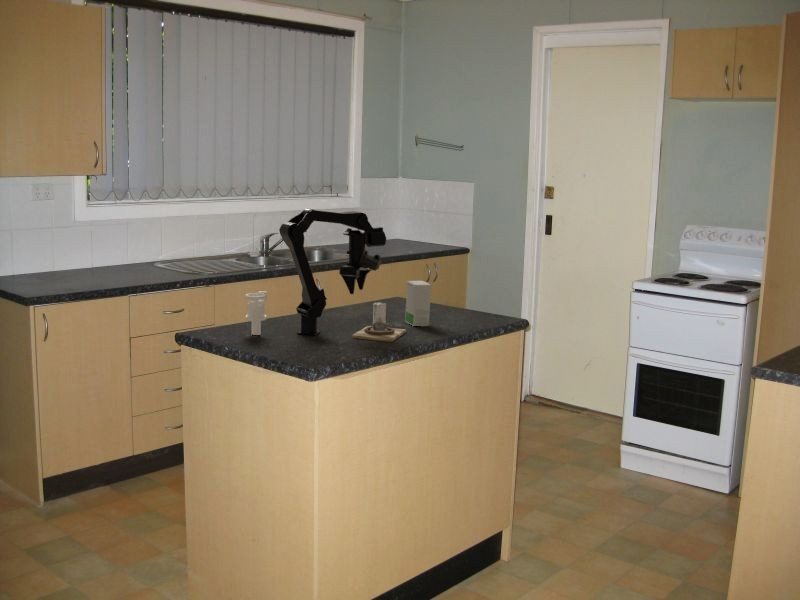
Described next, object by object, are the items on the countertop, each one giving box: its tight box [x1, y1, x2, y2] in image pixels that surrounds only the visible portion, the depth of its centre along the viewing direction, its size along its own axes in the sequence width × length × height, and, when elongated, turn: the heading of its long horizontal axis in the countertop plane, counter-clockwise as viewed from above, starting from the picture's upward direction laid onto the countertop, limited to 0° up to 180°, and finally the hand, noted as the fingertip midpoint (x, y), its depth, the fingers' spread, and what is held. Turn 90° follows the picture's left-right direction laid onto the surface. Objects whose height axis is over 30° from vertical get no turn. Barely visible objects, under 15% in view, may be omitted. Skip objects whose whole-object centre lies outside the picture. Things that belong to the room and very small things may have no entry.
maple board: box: [351, 325, 407, 343], centre depth 308 cm, size 16×14×2 cm
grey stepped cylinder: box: [244, 290, 268, 336], centre depth 302 cm, size 7×7×15 cm
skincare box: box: [404, 280, 432, 327], centre depth 326 cm, size 8×7×16 cm
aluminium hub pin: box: [370, 301, 388, 332], centre depth 307 cm, size 6×6×10 cm
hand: (356, 291), depth 315 cm, fingers open, 9 cm apart
